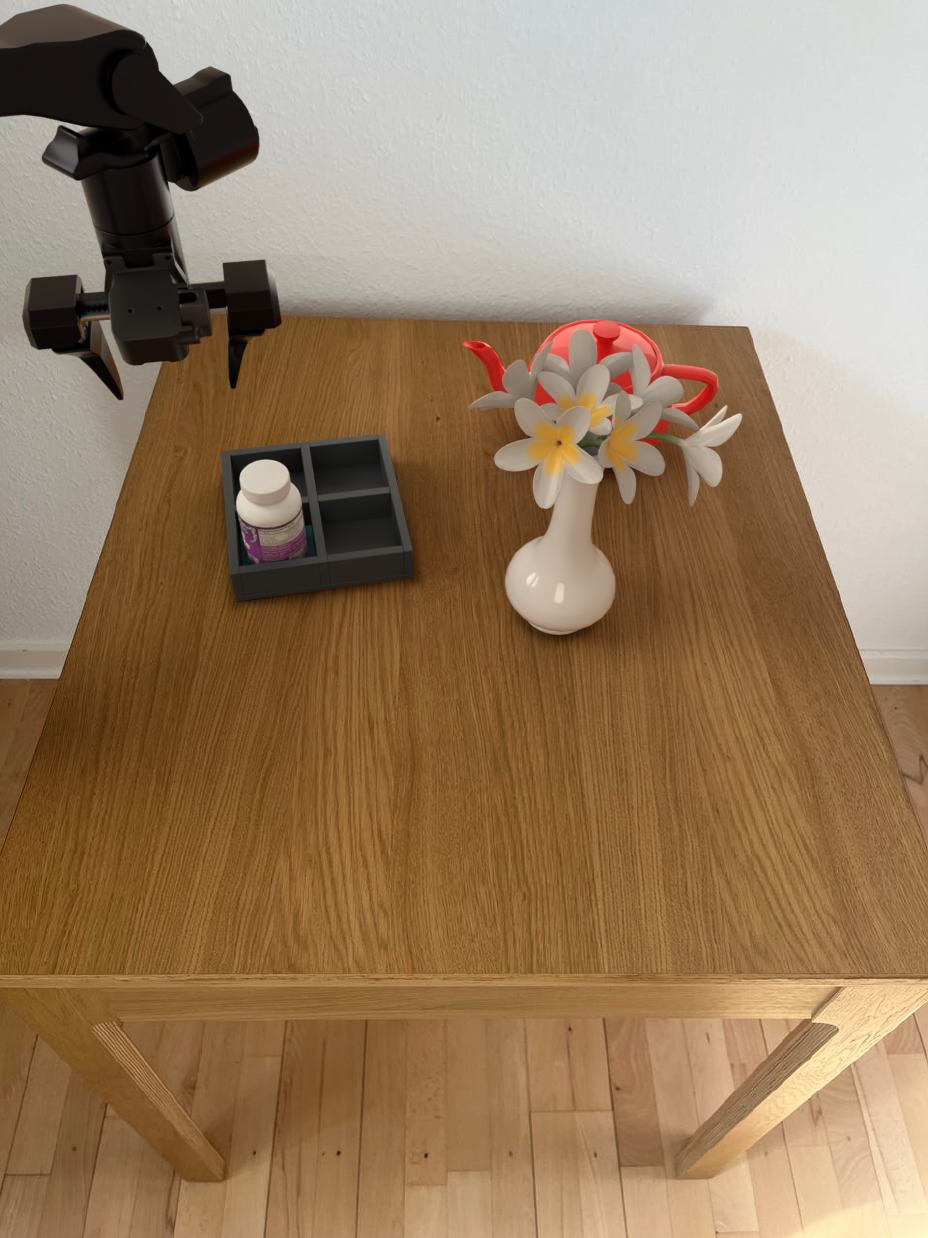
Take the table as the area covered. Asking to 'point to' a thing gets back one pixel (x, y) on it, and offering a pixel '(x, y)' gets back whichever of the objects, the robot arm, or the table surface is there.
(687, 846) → the table surface
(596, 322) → the teapot
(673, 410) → the flower vase
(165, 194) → the robot arm
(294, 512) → the pill bottle
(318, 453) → the compartment tray
